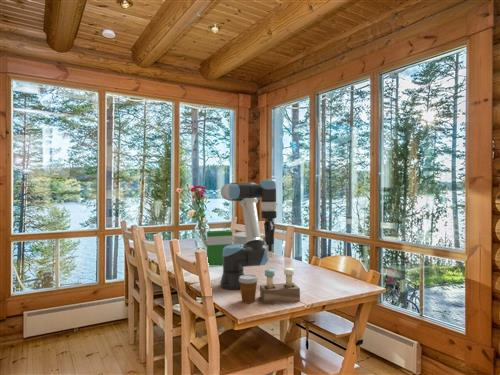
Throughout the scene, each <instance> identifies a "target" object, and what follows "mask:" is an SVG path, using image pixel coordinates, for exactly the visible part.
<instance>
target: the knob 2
mask: <svg viewBox="0 0 500 375" xmlns="http://www.w3.org/2000/svg"><path fill="white" fill-rule="evenodd" d="M294 270H295V269H294V268H292V267H286V268H284V269H283V275H285V283H286V287H287V288H291V287H292V283H293V275H294V274H295V271H294Z"/></svg>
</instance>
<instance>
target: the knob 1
mask: <svg viewBox="0 0 500 375" xmlns="http://www.w3.org/2000/svg"><path fill="white" fill-rule="evenodd" d="M264 276H265V277H266V285H267V289H273V284H274V277H275V269H272V268H269V269H265V270H264Z"/></svg>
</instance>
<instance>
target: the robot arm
mask: <svg viewBox="0 0 500 375" xmlns="http://www.w3.org/2000/svg"><path fill="white" fill-rule="evenodd" d="M276 183H277V182H276V180H275V179H262V180H261V181H260V183H255V182H251V181H250V182H249V181H248V182H230V183H226V184H224V185H223V186H222V187H221V189H220V195H221V197H222V198H223V199H224V200H227V201H230V202H239V205H240V206H241V207H242V213H243V214H242V215H243V221H244V227H245V228H244V229H245V230H246V237H247V242H246V243H245V246H243V244H233V243H232V244H231V245H227V246H225V247H224V248H223V265H222V275H221V279H220V282H219V284H220V285H219V286H220V288H221V289H225V290H239V289H240V282H239V277H240V276H242V275H245V273H244V268H245V267H260V266H266V265H267V264H268V262H269V259H271V258H272V259H273V254H274V253H273V246H274V241H275V239H274V238H275V223H274V221H273V220H274V219H276V218H277V211H276V210H277V206H278V203H277V184H276ZM260 199H261V200H260ZM259 200H260V201H261V202H260V206H261V207H260V208H261V218H262V219H265V220H264V223H263V226H264V233H265V236H264V239H263V240H262V239H261V234H260V232H261V229H260V222H259V221H260V220H259V214H258V209H257V203H258V202H259ZM265 242H266V244H265ZM240 290H241V289H240Z"/></svg>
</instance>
